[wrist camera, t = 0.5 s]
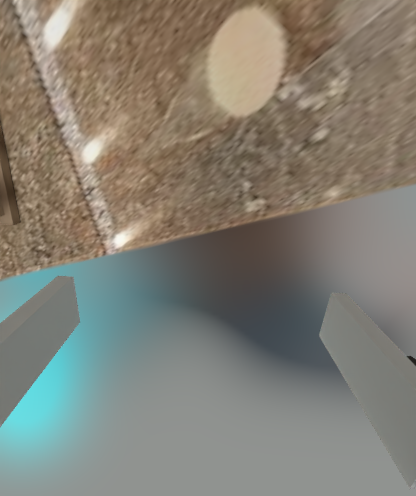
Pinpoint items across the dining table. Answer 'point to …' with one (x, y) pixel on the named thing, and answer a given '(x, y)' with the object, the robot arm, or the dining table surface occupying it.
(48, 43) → the dining table surface
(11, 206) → the notched wooden cradle
